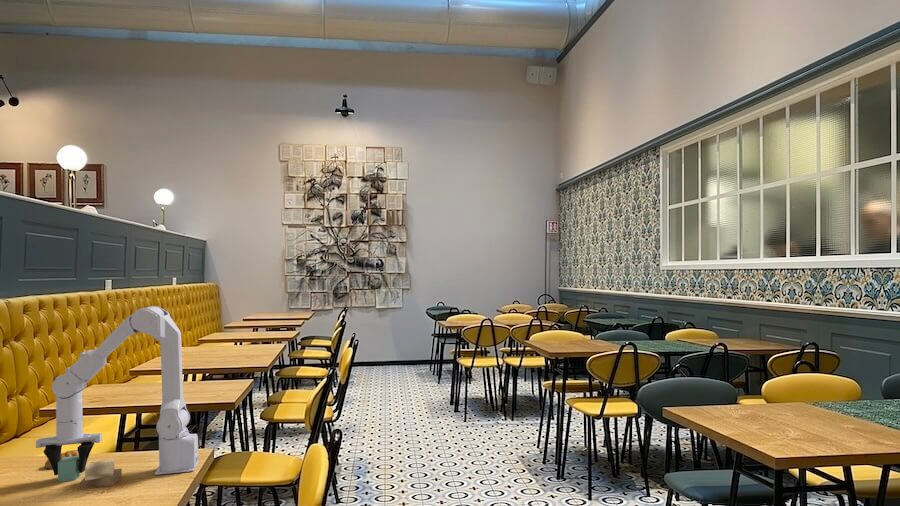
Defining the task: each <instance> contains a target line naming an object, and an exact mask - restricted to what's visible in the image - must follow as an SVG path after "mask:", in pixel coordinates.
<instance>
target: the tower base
mask: <svg viewBox="0 0 900 506" xmlns="http://www.w3.org/2000/svg"><path fill="white" fill-rule="evenodd" d="M122 472H123V470H122V468H121V467H120V468H114V475H113V476H110V477H104V478H98V479H92V480H86V481H85V477H84V478H83V479H82V480H81V483H80V486H81V487H80V489H81V490H85V489H86V490H88V489H94V488H95V489H96V488H104V487H105V488H106V487H107V488H108V487H113V486H115V484H117V482H118V481H119V480H120V478H122V476H123V475H122Z"/></svg>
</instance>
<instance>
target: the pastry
mask: <svg viewBox="0 0 900 506" xmlns="http://www.w3.org/2000/svg"><path fill="white" fill-rule="evenodd" d="M74 456H79V454H78V449H72V450H67V451H65V452H61V458H60V460H61V459H63V458H64V457H74ZM44 467H45V468H46V469H50V470H53V468H52V466H51V463H50V461H49V459H48V458H47V460H46V461H45V463H44Z"/></svg>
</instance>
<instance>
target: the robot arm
mask: <svg viewBox="0 0 900 506" xmlns="http://www.w3.org/2000/svg"><path fill="white" fill-rule="evenodd" d="M138 333H143V334H146V335H150V337H152V338H154V339H155V340H157V341H159V342H160V364H161V368H160V369H161V372H160V373H161V400H162V401H161V406H160V408H159V409H160V410H159V419H158V420H157V423H156V431H157V433H158V461H159V462H158V468H157V470H156V471H155V472H154V475H155V476H158V475H168V474H169V475H170V474H177V473H189V472H194V471H195V469H196V467H197V466H198V464H199V461H200V460H199V435H198V433H190V431H189V429H188V427H187V426H188V425H189V423H190V420H191V415H190V412H189V410H188V409H187V403H186V400H185V398H184V387H183V385H184V384H183V383H184V382H183V355H182V354H183V351H182V349H183V348H182V332H181V329H179V327H178V326H177V325H176V323H175V321H174V320H173V319H172V317H171V314H170V312H168V311H167V310H165V309H163V308H162V307H160V306H158V305H150V306H148V307H142V308H138V309H136V310H135V311H133V313H132V314H131V315H129V316H127V317H126V318H125V319H124V320H123V321H122V322H120V324H119V325H117V327H116V328H115V329H114V330H113V331H112V332H111V333H110V335H109V336H107V338H105V340H104V341H103V342H101V344H100V345H99V346H98V347H97V348H96V349H88V350H87V351H83V352H81V353H80V354H79V355H78V357H79V359H77V360H76V362H75V363H74V364H72V365H71V366H69V367H66V368H65V370H64V371H65V374H61V375H58V376H56V377H55V379H54V380H53V382H52V384H51V390H52V392H53V394H54V395H55V398H56V399H55V401H56V403H55V421H56V422H55V423H56V424H55V427H56V428H55V430H56V432H55V435H54V436H49V437H43V438H42V437H40V438H38V439H36V440H35V448H36V449H40V448H45V449H44V450H43V454H44V455H45V457H46V458H47V460H48V459H49V461H50V463H51V466H52V468H53V469H52V471H53V475H54V476H58V462H59V461H60V458H61V453H62V447H63V446H67V445H68V446H70V445H78V446H77V449H76V450H78V454H79V473H81V474H83V473H85V469H86V465H87V463H88V458H89V456H90V453H91V451H92V449H93V447H94V445H95V443H96V444H99V443H101V442H102V441H103V433H83V432H84V431H83V430H84V429H83V428H84V427H83V426H84V424H83V421H84V419H83V413H84V412H83V411H84V410H83V391H84V390H85V389H86V387H87V383H90V381H91V380H92V379H93V378H94V377H95V376H96V375H97V374H98V373H100V371H101V370H102V369H103V368H104V367H105V366H107V357H108V356H109V355H110V354H111V353H112V352H114V351H115V350H116V349H117V348H119V346H120V345H122V343H124V342H125V341H126V340H127V339H128V338H129V337H130V336H132V335H134V334H138Z"/></svg>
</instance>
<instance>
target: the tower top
mask: <svg viewBox="0 0 900 506" xmlns="http://www.w3.org/2000/svg"><path fill="white" fill-rule="evenodd" d="M114 469H115V458H113V459H108V460H107V459H106V460H101V461H93V462H87V463H86V467H85V471H84V478H85V481H86V480H92V479H98V478H104V477H110V476H113V475H114Z"/></svg>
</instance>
